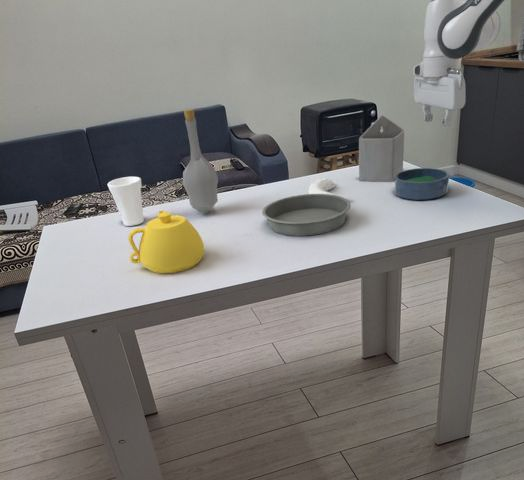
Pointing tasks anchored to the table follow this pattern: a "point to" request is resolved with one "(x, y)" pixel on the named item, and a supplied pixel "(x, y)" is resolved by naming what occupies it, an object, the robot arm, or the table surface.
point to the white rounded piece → (321, 187)
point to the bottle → (199, 172)
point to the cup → (128, 199)
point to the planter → (381, 151)
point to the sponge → (422, 179)
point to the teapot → (167, 244)
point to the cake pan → (306, 214)
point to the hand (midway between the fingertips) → (437, 123)
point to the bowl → (421, 184)
